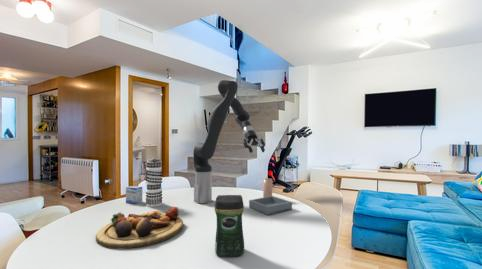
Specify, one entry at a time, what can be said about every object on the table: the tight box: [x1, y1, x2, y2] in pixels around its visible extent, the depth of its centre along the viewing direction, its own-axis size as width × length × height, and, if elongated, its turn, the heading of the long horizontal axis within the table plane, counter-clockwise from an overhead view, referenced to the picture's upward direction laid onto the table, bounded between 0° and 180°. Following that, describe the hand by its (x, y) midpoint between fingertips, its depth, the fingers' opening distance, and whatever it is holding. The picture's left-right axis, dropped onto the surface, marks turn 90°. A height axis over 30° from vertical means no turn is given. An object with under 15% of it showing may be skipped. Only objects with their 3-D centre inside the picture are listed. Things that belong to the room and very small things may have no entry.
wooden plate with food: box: [95, 206, 184, 249], centre depth 98 cm, size 32×32×8 cm
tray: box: [248, 195, 293, 216], centre depth 126 cm, size 16×15×4 cm
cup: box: [262, 177, 273, 198], centre depth 144 cm, size 5×5×12 cm
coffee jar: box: [214, 194, 245, 258], centre depth 80 cm, size 10×8×19 cm
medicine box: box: [125, 185, 143, 205], centre depth 138 cm, size 8×4×9 cm, turn 73°
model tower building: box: [144, 157, 164, 208], centre depth 134 cm, size 9×9×25 cm
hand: (257, 151), depth 155 cm, fingers open, 8 cm apart
